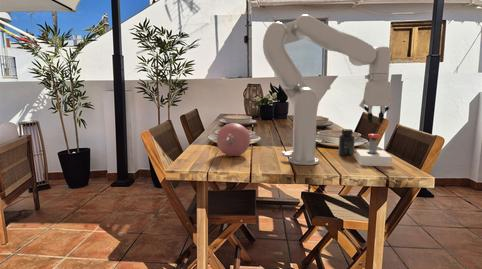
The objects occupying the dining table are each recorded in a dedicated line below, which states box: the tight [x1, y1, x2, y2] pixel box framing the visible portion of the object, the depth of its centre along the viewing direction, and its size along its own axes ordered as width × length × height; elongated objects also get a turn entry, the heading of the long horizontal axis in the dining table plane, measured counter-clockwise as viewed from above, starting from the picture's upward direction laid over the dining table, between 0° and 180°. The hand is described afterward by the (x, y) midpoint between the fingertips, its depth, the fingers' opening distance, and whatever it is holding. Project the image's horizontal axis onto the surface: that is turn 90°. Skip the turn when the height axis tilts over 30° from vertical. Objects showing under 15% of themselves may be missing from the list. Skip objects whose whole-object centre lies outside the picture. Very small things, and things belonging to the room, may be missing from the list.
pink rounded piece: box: [216, 122, 251, 157], centre depth 143 cm, size 15×20×15 cm
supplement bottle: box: [338, 128, 356, 157], centre depth 147 cm, size 7×7×12 cm
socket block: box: [354, 149, 393, 168], centre depth 134 cm, size 12×12×4 cm
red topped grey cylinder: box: [367, 133, 381, 154], centre depth 134 cm, size 5×5×12 cm
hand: (375, 122), depth 132 cm, fingers open, 3 cm apart
